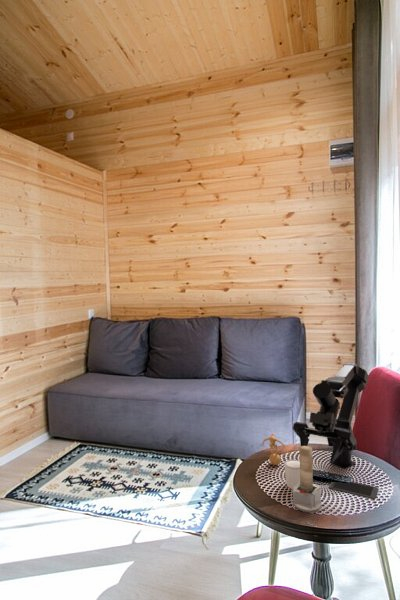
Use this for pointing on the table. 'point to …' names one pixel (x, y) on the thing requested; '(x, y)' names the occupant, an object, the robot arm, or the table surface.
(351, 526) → the table surface
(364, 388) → the robot arm
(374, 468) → the table surface
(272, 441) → the figurine
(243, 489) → the table surface
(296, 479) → the white short cylinder
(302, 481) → the post
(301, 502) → the stand
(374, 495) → the cell phone
